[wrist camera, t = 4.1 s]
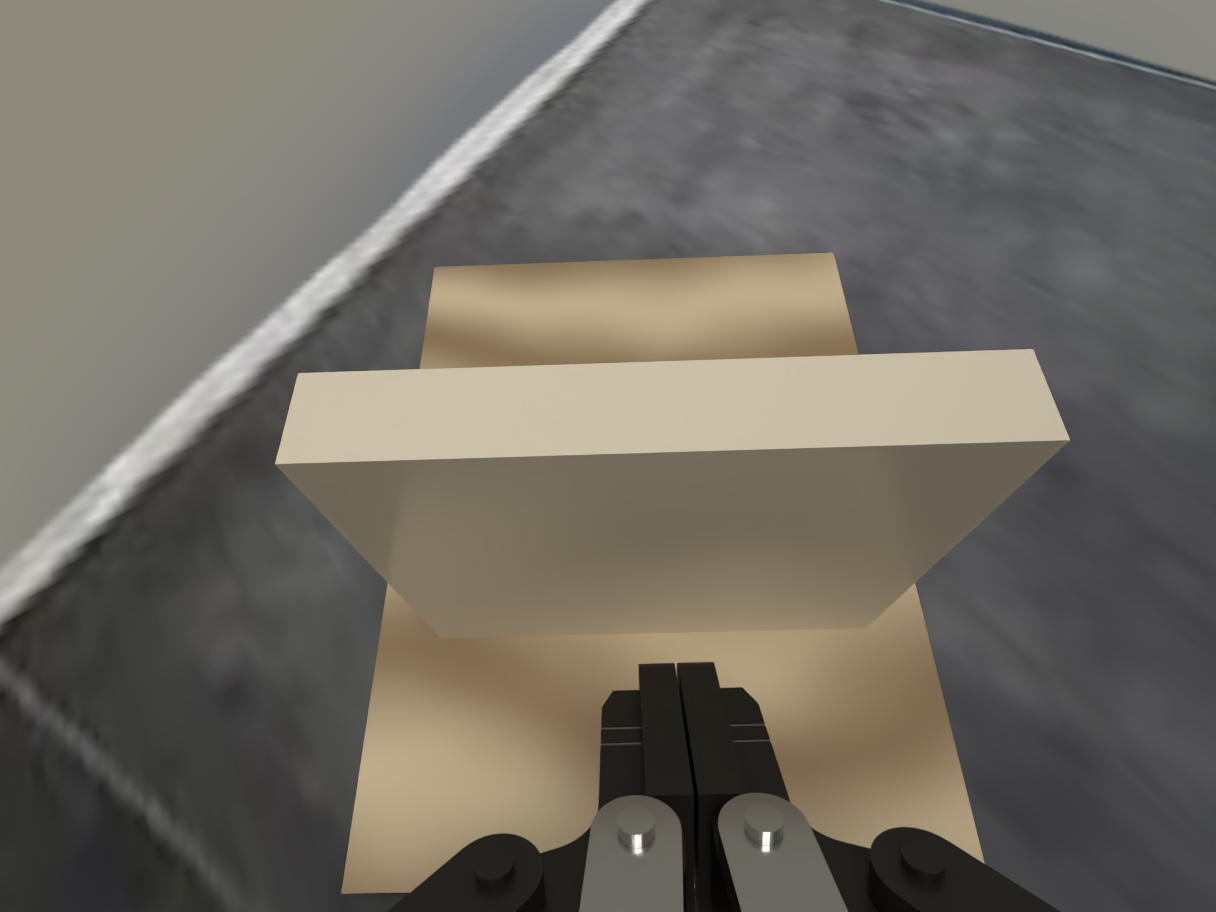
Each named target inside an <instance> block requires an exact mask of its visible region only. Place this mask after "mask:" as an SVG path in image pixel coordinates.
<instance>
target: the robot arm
mask: <svg viewBox="0 0 1216 912" xmlns="http://www.w3.org/2000/svg"><path fill="white" fill-rule="evenodd" d="M638 669H639V690H616V691H612V693H611V694H610V696H609V697H608V699H607V700H606V702H605V703H604V705H603V706H602V714H601V746H600V775H599V805H598V812H597V814H596V815H595V817H594V819H593V821H592V825H591V826H590V827H589V829H588V830H587V831H586V832H585V833H584V834H583V835H582V836H580V837H579V838H577V839H576V840H574V841H572V842H571V843H569V844H567V845H564V846H561V847H559V848H555V849H552V850H549V851H546V852H542V853H539V851H538V849H537V848H536V847H535V845H534V844H532V843H531V842H530V841H529V840H527V839H525V838H523V837H521V836H518V835H514V834H508V833H499V834H492V835H488V836H484V837H482V838H479V839H477V840H475V841H473V842H471V843H469V844H468V845H467V846H465V847H464V848H463V849H462V850H460V851H459V852H458V853H457V854H456V855H454V856H453V857H452V858H451V859H450V860H448V861H447V862H446V863H445V864H444V865H442V866H441V867H440V868H439V869H438V870H437V871H435V872H434V873H433V874H432V875H431V876H429V877H428V878H427V879H426V880H425V881H423V882H422V883H421V884H420V885H419V886H418V887H416V888H415V889H414V890H413V891H412V892H410V893H409V894H408V895H407V896H406V897H404V898H403V899H402V900H401V901H400V902H399V903H397V904H396V905H395V906H394V907H393V908H391V909H390V910H389V911H388V912H694V884H695V892H696V900H697V908H698V912H1060V911H1058V910H1057V909H1055V908H1054V907H1052V906H1051V905H1049V904H1047V903H1046V902H1044V901H1043V900H1041V899H1039V898H1038V897H1036V896H1035V895H1033V894H1032V893H1030V892H1028V891H1027V890H1025V889H1024V888H1022V887H1020V886H1019V885H1017V884H1016V883H1014V882H1013V881H1011V880H1009V879H1008V878H1006V877H1005V876H1003V875H1002V874H1000V873H998V872H997V871H995V870H994V869H992V868H990V867H989V866H987V865H986V864H984V863H983V862H981V861H979V860H978V859H976V858H975V857H973V856H971V855H970V854H968V853H967V852H965V851H964V850H962V849H960V848H959V847H957V846H956V845H954V844H952V843H951V842H949V841H948V840H946V839H944V838H942V837H941V836H939V835H936V834H934V833H932V832H929V831H926V830H923V829H918V828H913V827H896V828H891V829H888V830H886V831H883V832H882V833H880V834H879V835H878V836H877V837H876V838H875V839H874V841H873V843H872V845H871V848H867V847H863V846H858V845H854V844H850V843H846V842H842V841H839V840H836V839H833V838H830V837H828V836H825V835H823V834H822V833H820V832H818V831H816V830H815V829H813V828H812V827H810V824H809V822H808V821H807V819H806V817H805V816H804V814H803V813H802V812H801V811H800V810H799V809H798V808H797V807H796V806H794V805H793V804H792V803H791V802H790V799H789V796H788V793H787V790H786V787H785V783H784V780H783V777H782V774H781V771H780V768H779V765H778V762H777V759H776V756H775V753H774V750H773V747H772V744H771V742H770V737H769V734H768V731H767V728H766V726H765V722H764V719H763V716H762V713H761V710H760V707H759V704H758V703H757V702H756V701H755V700H754V699H753V698H752V696H751V695H750V694H749V693H748V692H747V691H746V690H745V689H744V688H743V687H733V688H720V685H719V680H718V676H717V672H716V668H715V665H714V662H685V663H677V676H676V669H675V664H674V663H651V664H638Z"/></svg>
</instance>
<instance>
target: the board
mask: <svg viewBox="0 0 1216 912" xmlns="http://www.w3.org/2000/svg"><path fill="white" fill-rule="evenodd" d="M840 355H858V351H857V346H856V342H855V338H854V334H853V330H852V326H851V322H850V318H849V314H848V310H847V306H846V302H845V298H844V294H843V290H842V286H841V282H840V278H839V274H838V270H837V266H836V262H835V258H834V254H833V253H813V254H786V255H758V256H730V257H702V258H674V259H647V260H619V261H591V262H563V263H535V264H508V265H480V266H452V267H435V269H434V276H433V283H432V289H431V296H430V303H429V310H428V316H427V323H426V330H425V336H424V343H423V350H422V356H421V363H420V369H444V368H474V367H505V366H535V365H566V364H596V363H627V362H657V361H687V360H718V359H748V358H779V357H809V356H840ZM685 662H714V665H715V668H716V672H717V676H718V680H719V685H720V688H733V687H743V688H744V689H745V690H746V691H747V692H748V693H749V694H750V695H751V696H752V698H753V699H754V700H755V701H756V702H757V703H758V704H759V707H760V710H761V713H762V716H763V719H764V722H765V726H766V728H767V731H768V734H769V737H770V742H771V744H772V747H773V750H774V753H775V756H776V759H777V762H778V765H779V768H780V771H781V774H782V777H783V780H784V783H785V787H786V790H787V793H788V796H789V799H790V802H791V803H792V804H793V805H794V806H796V807H797V808H798V809H799V810H800V811H801V812H802V813H803V814H804V816H805V817H806V819H807V821H808V822H809V824H810V827H812V828H813V829H815V830H816V831H818V832H820V833H822V834H823V835H825V836H828V837H830V838H833V839H836V840H839V841H842V842H846V843H850V844H854V845H858V846H863V847H867V848H871V845H872V843H873V841H874V839H875V838H876V837H877V836H878V835H879V834H880V833H882V832H883V831H886V830H888V829H891V828H896V827H913V828H918V829H923V830H926V831H929V832H932V833H934V834H936V835H939V836H941V837H942V838H944V839H946V840H948V841H949V842H951V843H952V844H954V845H956V846H957V847H959V848H960V849H962V850H964V851H965V852H967V853H968V854H970V855H971V856H973V857H975V858H976V859H978V860H979V861H981V862H983V863H984V859H983V855H982V851H981V847H980V843H979V839H978V835H977V831H976V827H975V823H974V819H973V815H972V811H971V807H970V803H969V799H968V795H967V791H966V787H965V783H964V778H963V774H962V770H961V766H960V762H959V758H958V754H957V750H956V746H955V742H954V738H953V734H952V730H951V726H950V722H949V718H948V714H947V710H946V706H945V702H944V698H943V694H942V690H941V686H940V682H939V678H938V673H937V669H936V665H935V661H934V657H933V653H932V649H931V645H930V641H929V637H928V633H927V629H926V625H925V621H924V617H923V613H922V609H921V605H920V601H919V597H918V593H917V589H916V585H915V583H914V584H913V585H912V586H911V587H910V588H909V589H908V590H907V591H906V592H905V593H904V594H902V595H901V596H900V597H899V598H898V599H897V600H896V601H895V602H894V603H893V604H892V605H891V606H889V607H888V608H887V609H886V610H885V611H884V612H883V613H882V614H881V615H880V616H879V617H878V618H876V619H875V620H874V621H873V622H872V623H871V624H870V625H869V626H868V627H867V628H853V629H812V630H771V631H731V632H690V633H650V634H609V635H568V636H528V637H487V638H447V639H441V638H440V637H439V636H438V635H437V634H436V633H435V632H434V631H433V630H432V629H431V628H430V627H429V626H428V625H427V624H426V623H425V622H424V621H423V620H422V618H421V617H420V616H419V615H418V614H417V613H416V612H415V611H414V610H413V609H412V608H411V607H410V606H409V605H408V604H407V603H406V602H405V601H404V599H403V598H402V597H401V596H400V595H399V594H398V593H397V592H396V591H395V590H394V589H393V588H392V587H391V586H390V585H389V584H387V591H386V598H385V604H384V611H383V618H382V624H381V631H380V638H379V645H378V651H377V658H376V665H375V671H374V678H373V685H372V691H371V698H370V705H369V712H368V718H367V725H366V732H365V738H364V745H363V752H362V758H361V765H360V772H359V779H358V785H357V792H356V799H355V805H354V812H353V819H352V825H351V832H350V839H349V846H348V852H347V859H346V866H345V872H344V879H343V886H342V892H341V894H347V893H406V892H412V891H413V890H414V889H415V888H416V887H418V886H419V885H420V884H421V883H422V882H423V881H425V880H426V879H427V878H428V877H429V876H431V875H432V874H433V873H434V872H435V871H437V870H438V869H439V868H440V867H441V866H442V865H444V864H445V863H446V862H447V861H448V860H450V859H451V858H452V857H453V856H454V855H456V854H457V853H458V852H459V851H460V850H462V849H463V848H464V847H465V846H467V845H468V844H469V843H471V842H473V841H475V840H477V839H479V838H482V837H484V836H488V835H492V834H499V833H508V834H514V835H518V836H521V837H523V838H525V839H527V840H529V841H530V842H531V843H532V844H534V845H535V847H536V848H537V849H538V851H539V853H542V852H546V851H549V850H552V849H555V848H559V847H561V846H564V845H567V844H569V843H571V842H572V841H574V840H576V839H577V838H579V837H580V836H582V835H583V834H584V833H585V832H586V831H587V830H588V829H589V827H590V826H591V825H592V821H593V819H594V817H595V815H596V814H597V812H598V805H599V775H600V746H601V714H602V706H603V705H604V703H605V702H606V700H607V699H608V697H609V696H610V694H611V693H612V691H616V690H639V669H638V664H651V663H674V664H675V669H676V676H677V663H685ZM984 864H985V863H984ZM694 888H695V884H694Z"/></svg>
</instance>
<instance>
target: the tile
mask: <svg viewBox="0 0 1216 912" xmlns="http://www.w3.org/2000/svg"><path fill="white" fill-rule="evenodd" d="M1069 441H1070V439H1069V436H1068V434H1067V431H1066V429H1065V426H1064V424H1063V422H1062V419H1061V417H1060V414H1059V412H1058V409H1057V407H1056V404H1055V402H1054V400H1053V397H1052V395H1051V392H1050V390H1049V387H1048V385H1047V382H1046V380H1045V377H1044V375H1043V373H1042V370H1041V368H1040V365H1039V363H1038V360H1037V358H1036V355H1035V353H1034V351H1033V349H1022V350H992V351H961V352H931V353H900V354H870V355H840V356H809V357H779V358H748V359H718V360H687V361H657V362H627V363H596V364H566V365H535V366H505V367H474V368H444V369H414V370H383V371H353V372H322V373H298V377H297V381H296V384H295V388H294V392H293V396H292V400H291V404H290V408H289V412H288V416H287V419H286V423H285V427H284V431H283V435H282V439H281V443H280V447H279V451H278V454H277V458H276V462H275V465H276V466H277V467H278V468H279V469H280V470H281V471H282V472H283V473H284V474H285V475H286V476H287V477H288V478H289V479H290V480H291V481H292V482H293V484H294V485H295V486H296V487H297V488H298V489H299V490H300V491H301V492H302V493H303V494H304V495H305V496H306V497H307V498H308V499H309V500H310V501H311V503H312V504H313V505H314V506H315V507H316V508H317V509H318V510H319V511H320V512H321V513H322V514H323V515H324V516H325V517H326V518H327V519H328V520H329V521H330V523H331V524H332V525H333V526H334V527H335V528H336V529H337V530H338V531H339V532H340V533H341V534H342V535H343V536H344V537H345V538H346V539H347V540H348V542H349V543H350V544H351V545H352V546H353V547H354V548H355V549H356V550H357V551H358V552H359V553H360V554H361V555H362V556H363V557H364V558H365V559H366V560H367V562H368V563H369V564H370V565H371V566H372V567H373V568H374V569H375V570H376V571H377V572H378V573H379V574H380V575H381V576H382V577H383V578H384V579H385V581H386V582H387V583H388V584H389V585H390V586H391V587H392V588H393V589H394V590H395V591H396V592H397V593H398V594H399V595H400V596H401V597H402V598H403V599H404V601H405V602H406V603H407V604H408V605H409V606H410V607H411V608H412V609H413V610H414V611H415V612H416V613H417V614H418V615H419V616H420V617H421V618H422V620H423V621H424V622H425V623H426V624H427V625H428V626H429V627H430V628H431V629H432V630H433V631H434V632H435V633H436V634H437V635H438V636H439V637H440V638H441V639H447V638H487V637H528V636H568V635H609V634H650V633H690V632H731V631H771V630H812V629H853V628H867V627H868V626H869V625H870V624H871V623H872V622H873V621H874V620H875V619H876V618H878V617H879V616H880V615H881V614H882V613H883V612H884V611H885V610H886V609H887V608H888V607H889V606H891V605H892V604H893V603H894V602H895V601H896V600H897V599H898V598H899V597H900V596H901V595H902V594H904V593H905V592H906V591H907V590H908V589H909V588H910V587H911V586H912V585H913V584H914V583H916V582H917V581H918V580H919V579H920V578H921V577H922V576H923V575H924V574H925V573H926V572H927V571H929V570H930V569H931V568H932V567H933V566H934V565H935V564H936V563H937V562H938V561H939V560H940V559H942V558H943V557H944V556H945V555H946V554H947V553H948V552H949V551H950V550H951V549H952V548H954V547H955V546H956V545H957V544H958V543H959V542H960V541H961V540H962V539H963V538H964V537H965V536H967V535H968V534H969V533H970V532H971V531H972V530H973V529H974V528H975V527H976V526H977V525H978V524H980V523H981V522H982V521H983V520H984V519H985V518H986V517H987V516H988V515H989V514H990V513H992V512H993V511H994V510H995V509H996V508H997V507H998V506H999V505H1000V504H1001V503H1002V502H1003V501H1005V500H1006V499H1007V498H1008V497H1009V496H1010V495H1011V494H1012V493H1013V492H1014V491H1015V490H1016V489H1018V488H1019V487H1020V486H1021V485H1022V484H1023V483H1024V482H1025V481H1026V480H1027V479H1028V478H1029V477H1031V476H1032V475H1033V474H1034V473H1035V472H1036V471H1037V470H1038V469H1039V468H1040V467H1041V466H1043V465H1044V464H1045V463H1046V462H1047V461H1048V460H1049V459H1050V458H1051V457H1052V456H1053V455H1054V454H1056V453H1057V452H1058V451H1059V450H1060V449H1061V448H1062V447H1063V446H1064V445H1065V444H1066V443H1067V442H1069Z"/></svg>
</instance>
